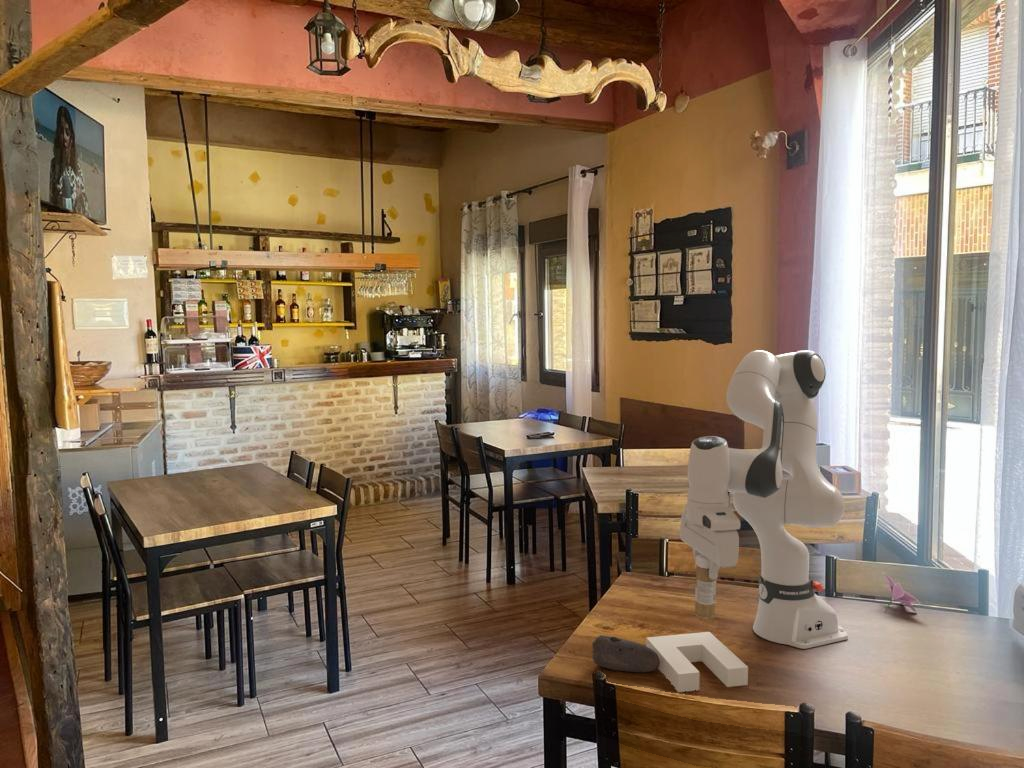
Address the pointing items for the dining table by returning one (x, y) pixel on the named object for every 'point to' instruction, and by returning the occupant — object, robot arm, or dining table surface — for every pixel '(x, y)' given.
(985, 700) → the dining table surface
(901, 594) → the lily
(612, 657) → the perforated stone tool
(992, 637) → the dining table surface
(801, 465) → the robot arm
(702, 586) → the sprinkles bottle
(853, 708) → the dining table surface
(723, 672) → the slotted plate
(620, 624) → the dining table surface
